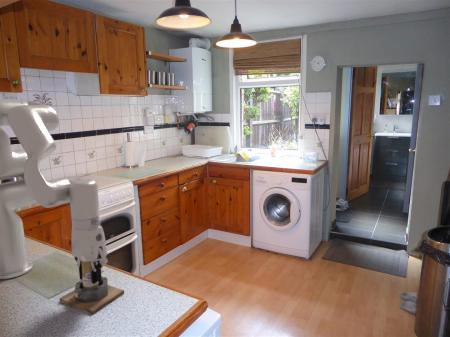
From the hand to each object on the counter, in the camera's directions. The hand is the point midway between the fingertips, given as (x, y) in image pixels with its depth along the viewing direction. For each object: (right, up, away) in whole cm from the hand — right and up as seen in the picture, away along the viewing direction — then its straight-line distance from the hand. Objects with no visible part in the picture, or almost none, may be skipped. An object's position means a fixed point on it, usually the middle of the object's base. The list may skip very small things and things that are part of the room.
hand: (90, 279), depth 100 cm
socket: (0, -6, +1) cm, 6 cm away
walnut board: (0, -6, +1) cm, 6 cm away
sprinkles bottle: (0, -5, +1) cm, 5 cm away
